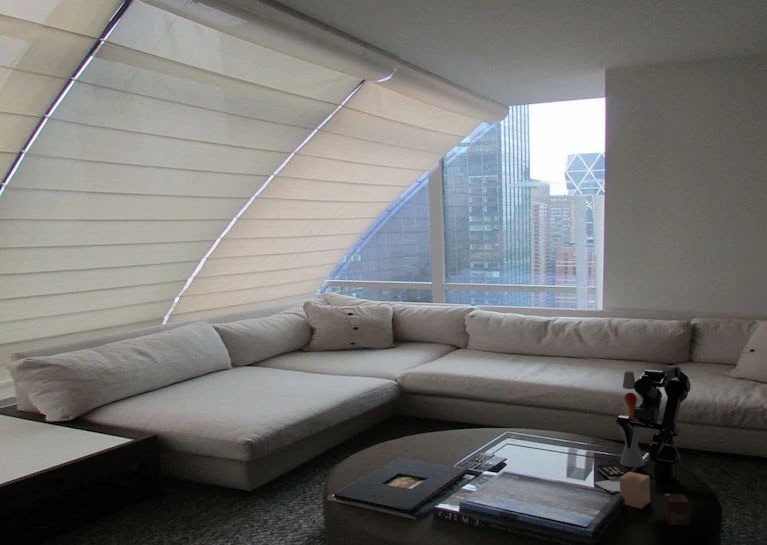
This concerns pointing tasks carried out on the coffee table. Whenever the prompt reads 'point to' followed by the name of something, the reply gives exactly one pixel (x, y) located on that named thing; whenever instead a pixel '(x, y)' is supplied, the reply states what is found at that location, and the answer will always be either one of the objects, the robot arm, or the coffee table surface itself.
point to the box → (676, 509)
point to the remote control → (610, 471)
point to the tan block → (635, 489)
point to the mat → (609, 485)
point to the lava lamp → (633, 454)
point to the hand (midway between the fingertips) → (642, 450)
